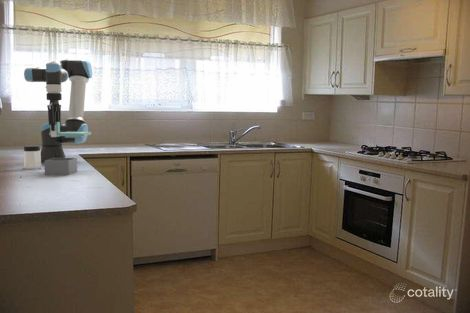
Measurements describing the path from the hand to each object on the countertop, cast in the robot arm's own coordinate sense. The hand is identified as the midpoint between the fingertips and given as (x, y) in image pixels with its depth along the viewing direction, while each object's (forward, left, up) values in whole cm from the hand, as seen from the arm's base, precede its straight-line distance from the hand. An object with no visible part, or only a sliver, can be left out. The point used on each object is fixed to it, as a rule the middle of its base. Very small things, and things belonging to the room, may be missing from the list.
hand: (55, 136), depth 268 cm
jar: (0, -13, -17) cm, 22 cm away
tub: (+17, +9, -17) cm, 26 cm away
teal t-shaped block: (0, +7, 0) cm, 8 cm away
